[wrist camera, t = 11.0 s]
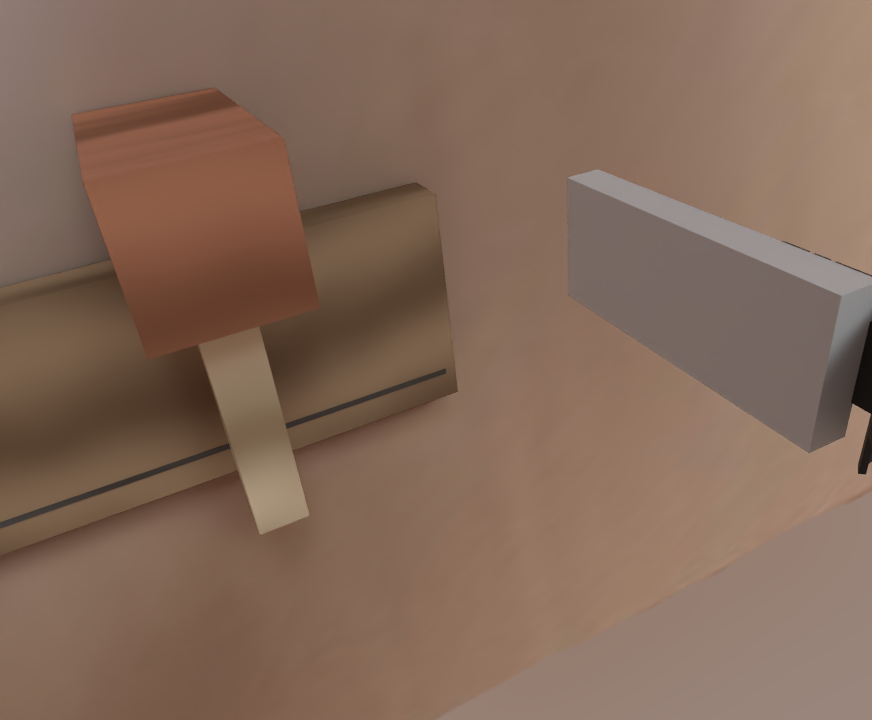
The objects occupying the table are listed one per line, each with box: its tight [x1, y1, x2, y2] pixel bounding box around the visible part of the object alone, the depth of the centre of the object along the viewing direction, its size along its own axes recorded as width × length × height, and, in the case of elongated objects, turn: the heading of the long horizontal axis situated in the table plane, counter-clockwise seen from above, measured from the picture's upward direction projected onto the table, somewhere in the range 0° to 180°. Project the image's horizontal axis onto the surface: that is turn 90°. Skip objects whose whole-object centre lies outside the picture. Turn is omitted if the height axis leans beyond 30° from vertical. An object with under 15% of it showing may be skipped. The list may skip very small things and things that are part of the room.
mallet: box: [72, 88, 320, 535], centre depth 26 cm, size 15×5×10 cm, turn 8°
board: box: [0, 183, 458, 556], centre depth 29 cm, size 10×30×2 cm, turn 98°
